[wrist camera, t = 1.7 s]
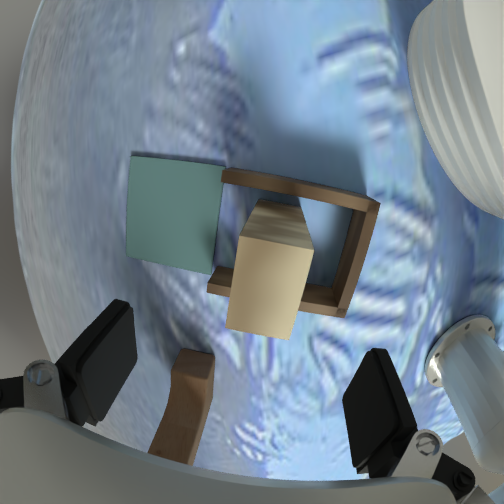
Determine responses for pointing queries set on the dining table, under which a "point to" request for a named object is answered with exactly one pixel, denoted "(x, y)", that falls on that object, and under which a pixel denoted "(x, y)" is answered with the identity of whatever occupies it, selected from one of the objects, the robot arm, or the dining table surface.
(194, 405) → the wooden block
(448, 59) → the plate stack
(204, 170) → the mat
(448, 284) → the dining table surface
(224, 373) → the dining table surface
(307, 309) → the crate
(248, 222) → the birch block
